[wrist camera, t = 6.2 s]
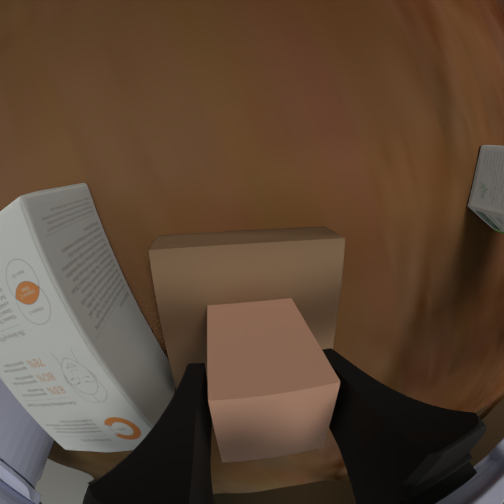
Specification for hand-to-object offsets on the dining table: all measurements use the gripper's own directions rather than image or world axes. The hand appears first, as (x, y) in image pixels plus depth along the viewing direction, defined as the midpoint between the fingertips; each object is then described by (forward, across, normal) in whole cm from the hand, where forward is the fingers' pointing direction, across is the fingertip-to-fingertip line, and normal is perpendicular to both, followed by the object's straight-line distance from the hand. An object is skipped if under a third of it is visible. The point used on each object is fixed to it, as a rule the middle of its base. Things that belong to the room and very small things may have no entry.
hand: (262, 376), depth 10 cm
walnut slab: (+6, 0, 0) cm, 6 cm away
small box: (+3, +12, -7) cm, 14 cm away
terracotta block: (+3, 0, 0) cm, 3 cm away
